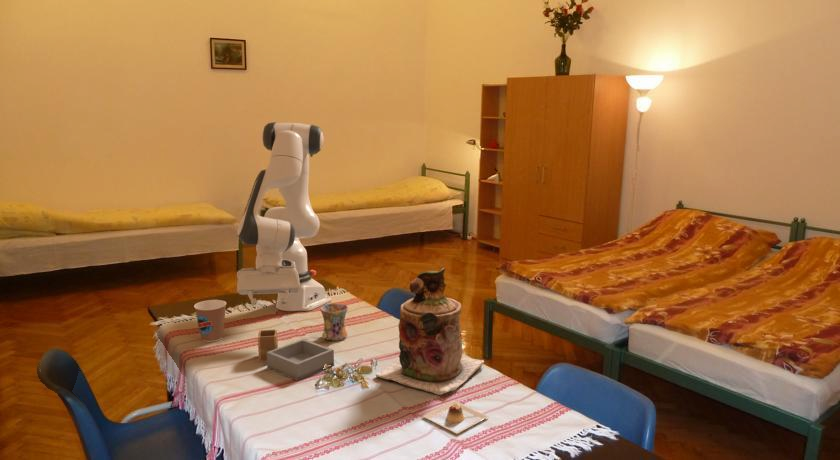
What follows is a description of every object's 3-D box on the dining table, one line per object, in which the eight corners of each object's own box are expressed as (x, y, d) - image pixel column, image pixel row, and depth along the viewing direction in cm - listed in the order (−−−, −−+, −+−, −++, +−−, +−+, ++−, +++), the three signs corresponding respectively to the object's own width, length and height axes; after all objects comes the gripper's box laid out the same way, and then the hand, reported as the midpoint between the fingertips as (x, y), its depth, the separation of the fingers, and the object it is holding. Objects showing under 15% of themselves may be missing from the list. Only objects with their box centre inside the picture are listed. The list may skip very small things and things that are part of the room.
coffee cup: (189, 340, 203) (187, 306, 200) (213, 330, 212) (210, 297, 209) (211, 346, 198) (209, 311, 196) (235, 336, 207) (233, 302, 205)
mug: (353, 338, 205) (353, 308, 203) (330, 345, 199) (329, 314, 197) (334, 328, 214) (333, 300, 212) (311, 335, 208) (310, 305, 206)
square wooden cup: (260, 354, 191) (259, 330, 190) (278, 353, 192) (277, 329, 191) (258, 362, 186) (257, 337, 184) (277, 360, 187) (276, 336, 185)
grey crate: (303, 353, 192) (303, 338, 191) (334, 365, 183) (333, 349, 182) (267, 367, 181) (266, 352, 180) (297, 380, 173) (297, 364, 172)
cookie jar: (416, 350, 195) (417, 254, 189) (486, 367, 183) (489, 264, 177) (372, 379, 174) (370, 271, 168) (447, 399, 162) (449, 284, 156)
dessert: (421, 420, 152) (421, 402, 151) (453, 404, 161) (453, 387, 160) (457, 438, 144) (457, 419, 143) (489, 420, 152) (489, 402, 151)
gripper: (236, 263, 200) (234, 300, 192) (299, 261, 204) (300, 298, 196) (237, 273, 205) (236, 309, 197) (299, 271, 209) (300, 307, 201)
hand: (268, 304), depth 197 cm, fingers open, 8 cm apart
